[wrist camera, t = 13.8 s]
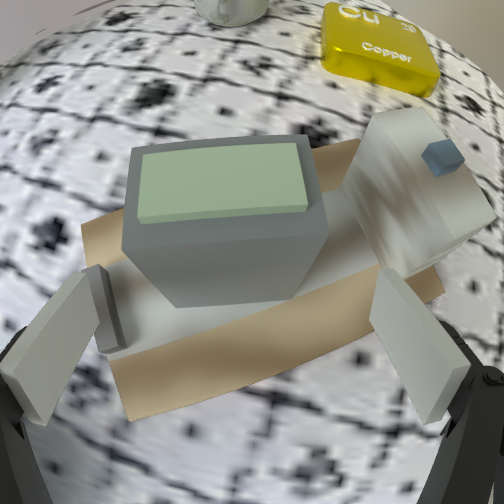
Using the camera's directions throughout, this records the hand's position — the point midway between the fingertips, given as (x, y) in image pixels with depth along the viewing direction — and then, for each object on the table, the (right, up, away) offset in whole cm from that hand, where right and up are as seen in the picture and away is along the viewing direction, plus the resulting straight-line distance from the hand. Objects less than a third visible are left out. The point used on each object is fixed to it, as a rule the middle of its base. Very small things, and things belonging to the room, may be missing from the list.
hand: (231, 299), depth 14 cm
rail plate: (+2, +1, +11) cm, 11 cm away
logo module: (-1, +1, +9) cm, 9 cm away
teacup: (-2, +35, +24) cm, 42 cm away
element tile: (+18, +29, +23) cm, 41 cm away
